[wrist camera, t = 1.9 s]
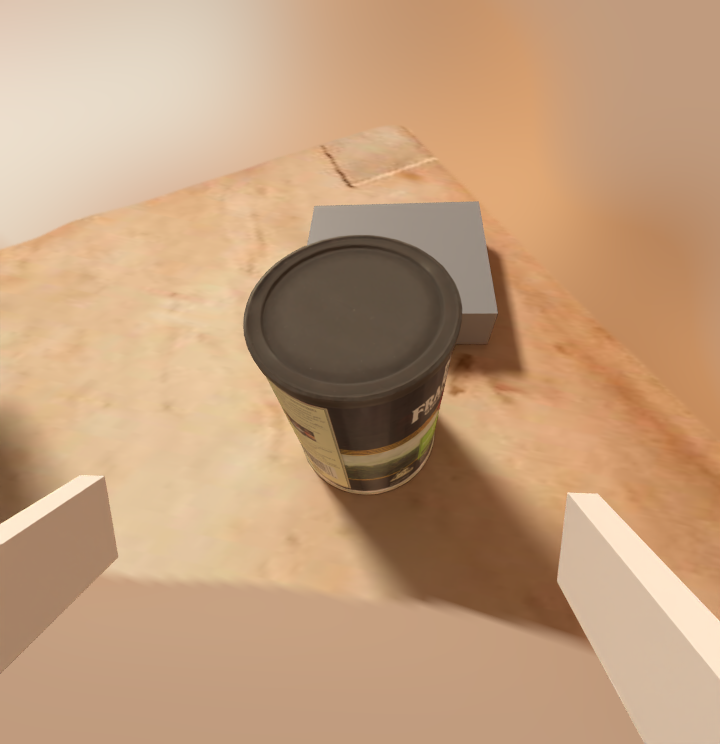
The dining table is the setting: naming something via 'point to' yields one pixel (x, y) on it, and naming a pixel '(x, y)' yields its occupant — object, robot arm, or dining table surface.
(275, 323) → the coffee can
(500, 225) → the dining table surface
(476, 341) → the riser
